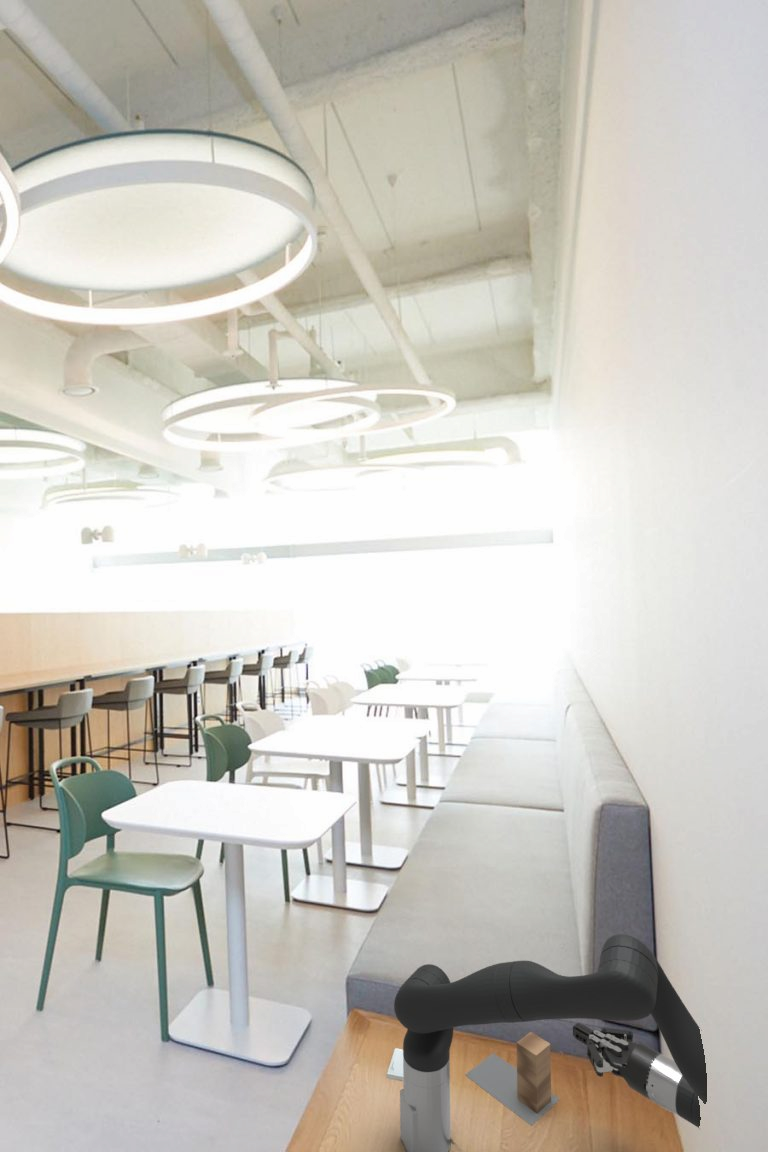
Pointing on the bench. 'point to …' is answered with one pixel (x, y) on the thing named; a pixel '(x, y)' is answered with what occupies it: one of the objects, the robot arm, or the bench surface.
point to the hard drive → (396, 1065)
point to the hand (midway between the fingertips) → (574, 1029)
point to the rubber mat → (505, 1086)
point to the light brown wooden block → (533, 1072)
